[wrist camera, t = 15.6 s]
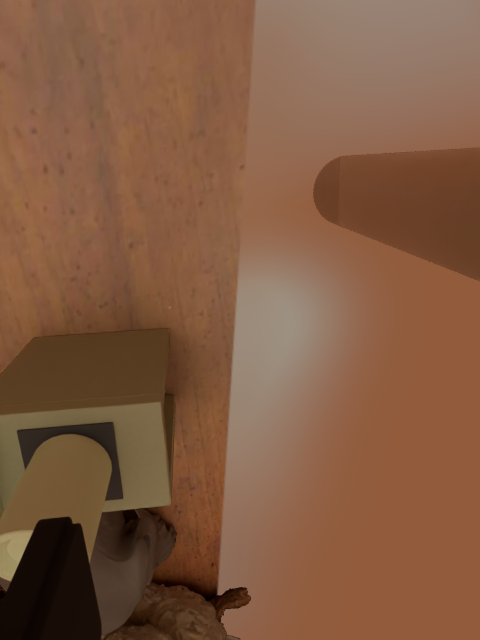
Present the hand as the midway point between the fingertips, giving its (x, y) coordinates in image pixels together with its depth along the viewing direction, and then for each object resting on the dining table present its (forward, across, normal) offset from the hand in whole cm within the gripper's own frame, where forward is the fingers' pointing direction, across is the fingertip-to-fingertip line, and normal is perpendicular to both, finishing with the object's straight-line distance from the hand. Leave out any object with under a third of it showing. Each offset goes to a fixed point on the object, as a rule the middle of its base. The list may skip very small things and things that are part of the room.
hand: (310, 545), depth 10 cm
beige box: (+33, +11, +10) cm, 36 cm away
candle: (+19, +11, +10) cm, 24 cm away
